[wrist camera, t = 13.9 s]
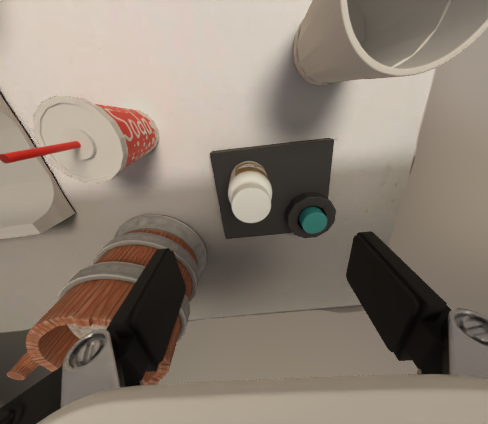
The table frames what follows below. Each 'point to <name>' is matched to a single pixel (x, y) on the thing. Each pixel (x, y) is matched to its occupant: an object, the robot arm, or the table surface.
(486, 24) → the cup
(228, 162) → the scale
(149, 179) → the table surface
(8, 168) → the grey desk tray
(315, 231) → the button
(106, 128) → the beverage cup
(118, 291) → the mug
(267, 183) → the pill bottle
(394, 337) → the robot arm
